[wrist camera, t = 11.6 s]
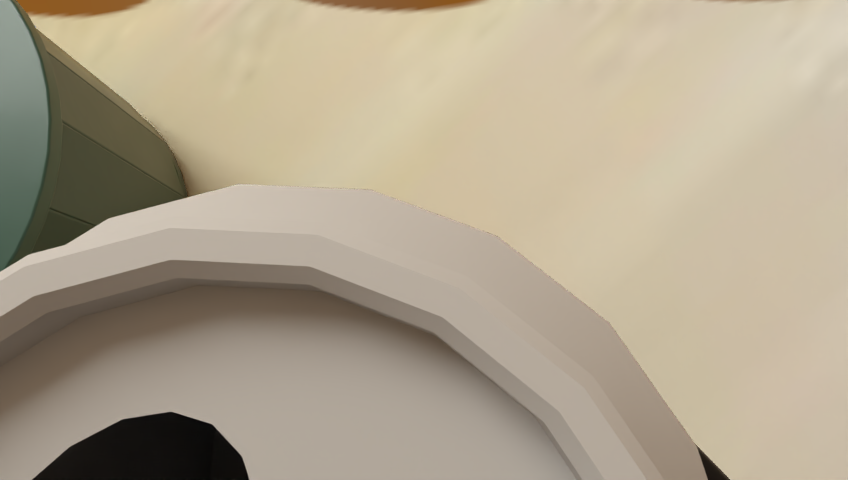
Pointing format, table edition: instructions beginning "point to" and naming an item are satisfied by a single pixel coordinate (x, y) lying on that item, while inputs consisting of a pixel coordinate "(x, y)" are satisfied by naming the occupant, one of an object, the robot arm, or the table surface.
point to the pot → (102, 157)
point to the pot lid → (25, 133)
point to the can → (314, 352)
